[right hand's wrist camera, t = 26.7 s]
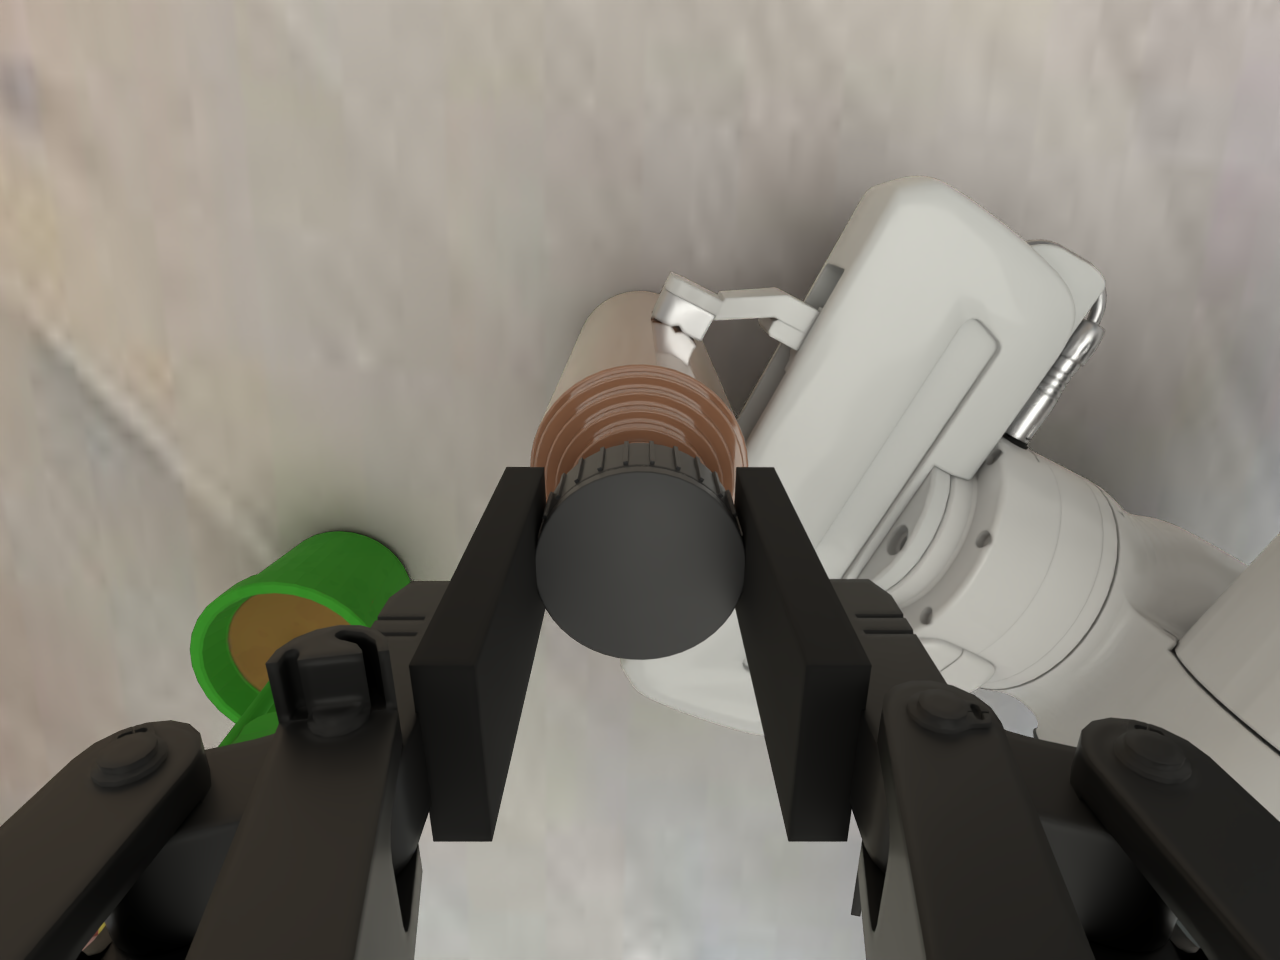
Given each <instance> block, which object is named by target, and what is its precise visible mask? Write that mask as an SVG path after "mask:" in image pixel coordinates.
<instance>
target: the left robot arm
mask: <svg viewBox="0 0 1280 960" xmlns="http://www.w3.org/2000/svg"><path fill="white" fill-rule="evenodd" d="M1106 297H1107V294H1106V287H1105V279H1104V277H1103V275H1102V274H1101V273H1100V272H1099V270H1098V269H1097V268H1096V267H1095V266H1094V265H1092V264H1091V263H1090V262H1089V261H1087V260H1085V259H1083V258H1082V257H1080V256H1078V255H1077V254H1075V253H1073V252H1071V251H1070V250H1068V249H1066V248H1065V247H1063V246H1061V245H1059V244H1058V243H1055V242H1052V241H1048V240H1029V241H1024V240H1023V239H1022V238H1021V237H1020V236H1018V235H1017V234H1016V233H1015V232H1014V231H1012V230H1011V229H1010V228H1009V227H1008V226H1006V225H1005V224H1004V223H1003V222H1001V221H1000V220H999V219H997V218H996V217H995V216H994V215H992V214H991V213H990V212H988V211H987V210H986V209H984V208H983V207H981V206H980V205H979V204H977V203H976V202H974V201H973V200H971V199H970V198H969V197H967V196H966V195H964V194H963V193H961V192H960V191H958V190H956V189H955V188H953V187H952V186H950V185H948V184H946V183H945V182H943V181H941V180H938V179H935V178H931V177H926V176H908V177H903V178H898V179H895V180H891V181H888V182H885V183H882V184H879V185H876V186H873V187H872V188H870V189H869V190H868V191H867V192H866V193H865V194H864V195H863V197H862V199H861V200H860V202H859V204H858V206H857V207H856V209H855V211H854V213H853V214H852V216H851V218H850V220H849V221H848V223H847V225H846V227H845V229H844V230H843V232H842V234H841V236H840V237H839V239H838V241H837V243H836V244H835V246H834V248H833V250H832V252H831V253H830V255H829V257H828V259H827V260H826V262H825V264H824V266H823V267H822V269H821V271H820V273H819V275H818V276H817V278H816V280H815V282H814V283H813V285H812V287H811V289H810V290H809V292H808V294H807V296H806V298H805V299H804V301H802V300H800V299H798V298H796V297H794V296H792V295H790V294H788V293H786V292H784V291H782V290H780V289H778V288H776V287H770V288H756V289H742V290H728V291H719V292H718V294H716V293H714V292H712V291H710V290H708V289H706V288H704V287H702V286H700V285H698V284H696V283H694V282H692V281H690V280H688V279H686V278H685V277H683V276H681V275H678V274H676V273H673V272H670V274H669V276H668V278H667V280H666V283H665V285H664V286H663V288H662V291H661V293H660V295H659V297H658V299H657V301H656V303H655V306H654V308H653V310H652V316H653V317H654V318H655V319H657V320H658V321H660V322H662V323H664V324H667V325H669V326H672V327H673V326H679V327H680V329H681V331H682V332H683V333H685V334H686V335H688V336H690V337H692V338H694V339H696V340H698V341H700V342H701V341H702V339H703V337H704V335H705V333H706V332H707V330H708V328H709V326H710V324H711V323H712V321H713V319H714V321H715V320H734V319H754V318H760V319H759V320H758V322H759V326H760V327H761V328H762V329H763V330H764V331H765V332H766V333H767V334H768V335H769V336H770V337H772V338H774V339H776V340H778V341H780V343H779V345H778V347H777V349H776V351H775V352H774V354H773V356H772V358H771V359H770V361H769V363H768V365H767V366H766V368H765V370H764V372H763V374H762V375H761V377H760V379H759V381H758V382H757V384H756V386H755V388H754V389H753V391H752V393H751V395H750V397H749V398H748V400H747V402H746V404H745V405H744V407H743V409H742V411H741V412H740V414H739V416H738V418H737V421H738V424H739V426H740V429H741V431H742V434H743V436H744V439H745V444H746V448H747V454H748V467H774V468H775V470H776V472H777V474H778V476H779V478H780V480H781V482H782V484H783V486H784V488H785V490H786V493H787V495H788V497H789V499H790V501H791V503H792V505H793V507H794V509H795V511H796V513H797V515H798V517H799V519H800V521H801V523H802V525H803V527H804V529H805V531H806V533H807V535H808V537H809V539H810V541H811V543H812V545H813V547H814V549H815V551H816V553H817V555H818V557H819V559H820V561H821V563H822V565H823V567H824V569H825V572H826V574H827V576H828V578H829V579H869V580H871V581H872V582H874V583H875V584H876V585H878V586H879V587H881V588H882V589H883V590H885V591H886V592H888V593H889V594H890V595H892V597H893V599H894V600H895V602H896V603H897V605H898V606H899V608H900V610H901V611H902V613H903V617H904V618H906V619H907V621H908V622H909V624H910V625H911V627H912V629H913V634H916V635H917V637H918V638H919V640H920V641H921V643H922V645H923V646H924V648H925V649H926V651H927V652H928V654H929V656H930V657H931V659H932V660H933V662H934V664H935V665H936V667H937V668H938V670H939V672H940V673H941V675H942V676H943V678H944V679H945V681H946V683H947V684H949V685H953V686H955V687H958V688H960V689H962V690H964V691H966V692H969V693H971V692H973V691H975V690H976V689H978V688H982V689H987V690H992V691H998V692H1002V693H1005V694H1008V695H1010V696H1012V697H1014V698H1016V699H1018V700H1019V701H1021V702H1022V703H1023V704H1024V705H1025V706H1026V707H1027V708H1028V709H1029V710H1030V711H1031V712H1032V713H1033V714H1034V715H1035V716H1036V718H1037V722H1038V727H1037V728H1035V729H1034V730H1033V734H1034V738H1036V739H1041V740H1045V741H1050V742H1055V743H1059V744H1064V745H1069V746H1073V747H1077V744H1078V741H1079V737H1080V734H1081V730H1082V729H1083V728H1084V727H1086V726H1087V725H1088V724H1089V723H1090V722H1091V721H1094V720H1100V719H1105V718H1110V717H1112V718H1122V719H1133V720H1137V721H1141V722H1146V723H1147V724H1152V725H1155V726H1158V727H1161V728H1163V729H1165V730H1167V731H1169V732H1171V733H1173V734H1175V735H1177V736H1180V737H1182V738H1184V739H1186V740H1188V741H1189V742H1190V743H1192V744H1193V745H1194V746H1196V747H1197V748H1199V749H1200V750H1201V751H1203V752H1204V753H1205V754H1207V755H1208V756H1209V757H1210V758H1212V759H1213V760H1214V761H1215V762H1216V763H1217V764H1218V765H1219V766H1220V767H1221V768H1222V769H1223V770H1225V771H1226V772H1227V773H1228V774H1229V775H1230V776H1231V777H1232V778H1233V779H1234V780H1235V781H1236V782H1237V783H1239V784H1240V785H1241V786H1242V787H1243V788H1244V789H1245V790H1246V791H1247V792H1248V793H1249V794H1250V795H1251V796H1253V797H1254V798H1255V799H1256V800H1257V801H1258V802H1259V803H1260V804H1261V805H1262V806H1263V807H1264V808H1266V809H1267V810H1268V811H1269V812H1270V813H1271V814H1272V815H1273V816H1274V817H1275V818H1276V819H1277V820H1278V821H1280V533H1279V534H1278V535H1277V536H1276V537H1275V538H1274V539H1273V540H1272V541H1271V542H1270V543H1269V545H1268V546H1267V547H1266V548H1265V549H1264V550H1263V551H1262V552H1261V553H1260V554H1259V555H1258V556H1257V557H1256V559H1255V560H1254V561H1253V562H1252V563H1251V564H1250V565H1249V566H1247V565H1246V564H1244V563H1243V562H1241V561H1239V560H1238V559H1236V558H1235V557H1233V556H1231V555H1230V554H1228V553H1226V552H1224V551H1223V550H1221V549H1219V548H1217V547H1216V546H1214V545H1212V544H1210V543H1208V542H1207V541H1205V540H1203V539H1201V538H1199V537H1198V536H1196V535H1194V534H1192V533H1190V532H1188V531H1186V530H1184V529H1182V528H1180V527H1178V526H1176V525H1173V524H1171V523H1169V522H1166V521H1162V520H1159V519H1155V518H1152V517H1146V516H1140V515H1133V514H1130V513H1128V512H1126V511H1125V510H1123V509H1122V508H1121V506H1120V505H1119V504H1118V503H1117V502H1116V501H1115V500H1114V499H1113V498H1112V497H1111V496H1110V495H1109V494H1108V493H1107V492H1106V491H1104V490H1103V489H1102V488H1101V487H1099V486H1098V485H1096V484H1094V483H1093V482H1091V481H1089V480H1088V479H1086V478H1084V477H1082V476H1080V475H1078V474H1076V473H1074V472H1072V471H1070V470H1068V469H1066V468H1064V467H1062V466H1061V465H1059V464H1057V463H1055V462H1053V461H1051V460H1049V459H1047V458H1045V457H1043V456H1041V455H1039V454H1037V453H1035V452H1033V451H1032V450H1030V449H1028V447H1027V444H1028V443H1029V441H1030V440H1031V439H1032V437H1033V436H1034V435H1035V433H1036V432H1037V430H1038V429H1039V428H1040V426H1041V425H1042V424H1043V422H1044V421H1045V419H1046V418H1047V417H1048V415H1049V414H1050V413H1051V411H1052V410H1053V408H1054V406H1055V405H1056V403H1057V402H1058V400H1057V399H1059V398H1060V396H1061V394H1062V393H1061V392H1062V391H1064V389H1065V388H1066V384H1068V383H1069V381H1070V380H1071V377H1073V376H1074V374H1075V373H1076V372H1077V370H1078V369H1079V368H1080V366H1084V365H1085V364H1086V362H1087V361H1088V360H1089V359H1090V358H1091V356H1092V355H1093V354H1094V352H1095V351H1096V349H1097V348H1098V346H1099V344H1100V342H1101V340H1102V338H1103V336H1104V333H1105V330H1104V329H1103V328H1102V327H1100V326H1099V324H1100V321H1101V319H1102V317H1103V314H1104V311H1105V306H1106ZM1089 310H1090V312H1089V315H1088V318H1087V320H1086V319H1083V318H1084V317H1085V316H1086V314H1087V313H1088V311H1089ZM620 664H621V667H622V669H623V671H624V673H625V675H626V676H627V678H628V680H629V681H630V683H631V684H632V686H633V687H634V688H635V690H637V691H638V692H639V693H640V694H642V695H644V696H645V697H647V698H649V699H651V700H654V701H656V702H658V703H660V704H663V705H665V706H668V707H670V708H673V709H675V710H678V711H680V712H683V713H686V714H689V715H691V716H694V717H697V718H700V719H703V720H706V721H709V722H712V723H715V724H717V725H721V726H724V727H728V728H731V729H734V730H738V731H741V732H745V733H749V734H754V735H761V736H764V732H763V728H762V724H761V719H760V715H759V711H758V706H757V702H756V698H755V693H754V689H753V684H752V680H751V676H750V671H749V667H748V663H747V658H746V654H745V650H744V645H743V641H742V637H741V632H740V628H739V623H738V619H737V615H736V610H735V609H734V610H733V612H732V614H731V615H730V617H729V618H728V619H727V620H726V622H725V623H724V624H723V625H722V626H721V627H720V628H719V629H718V630H717V631H716V632H715V633H714V634H713V635H711V636H710V637H709V638H707V639H706V640H705V641H703V642H702V643H700V644H698V645H696V646H695V647H693V648H691V649H688V650H686V651H684V652H682V653H678V654H675V655H672V656H669V657H663V658H658V659H648V660H630V659H623V658H620ZM1176 923H1177V925H1178V926H1179V927H1180V928H1181V930H1182V931H1183V932H1184V933H1185V935H1186V936H1187V937H1188V938H1189V939H1190V940H1191V941H1192V942H1193V943H1194V944H1195V945H1196V946H1197V947H1198V948H1200V946H1199V945H1198V944H1197V942H1196V941H1195V940H1194V939H1193V937H1192V936H1191V935H1190V934H1189V932H1188V931H1187V930H1186V929H1185V927H1184V926H1183V925H1182V923H1181V922H1180V921H1179V920H1178V919H1177V921H1176Z"/></svg>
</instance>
